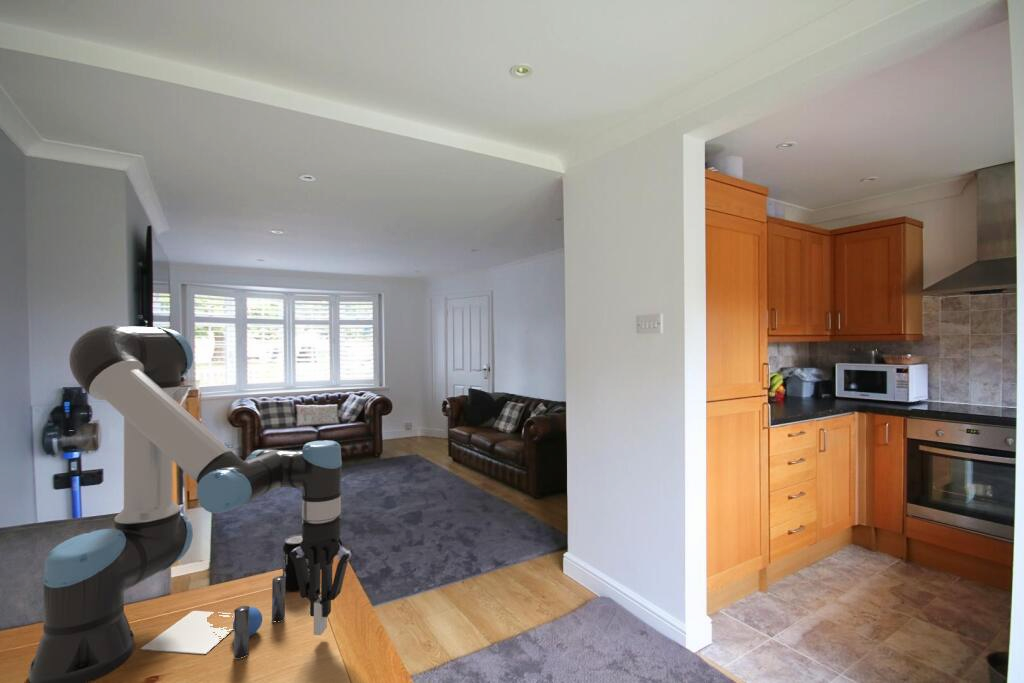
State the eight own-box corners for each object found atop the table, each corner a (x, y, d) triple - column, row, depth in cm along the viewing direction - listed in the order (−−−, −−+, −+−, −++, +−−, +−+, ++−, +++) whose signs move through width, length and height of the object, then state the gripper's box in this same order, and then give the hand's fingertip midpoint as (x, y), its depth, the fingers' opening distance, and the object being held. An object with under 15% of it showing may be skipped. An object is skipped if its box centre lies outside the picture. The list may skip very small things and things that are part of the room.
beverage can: (300, 593, 120) (300, 544, 120) (276, 590, 121) (277, 542, 121) (316, 581, 126) (316, 534, 126) (293, 578, 128) (294, 532, 128)
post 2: (269, 622, 108) (269, 581, 108) (276, 615, 110) (276, 575, 110) (280, 622, 107) (281, 581, 107) (287, 616, 110) (287, 576, 110)
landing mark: (140, 649, 98) (140, 648, 98) (193, 611, 112) (193, 610, 112) (205, 654, 96) (205, 653, 96) (250, 615, 110) (250, 614, 110)
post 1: (230, 658, 95) (231, 612, 95) (239, 650, 98) (240, 605, 98) (243, 659, 95) (243, 613, 95) (251, 651, 97) (252, 606, 97)
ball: (229, 644, 100) (224, 618, 100) (246, 629, 106) (241, 603, 106) (253, 641, 100) (248, 614, 100) (269, 625, 105) (265, 600, 105)
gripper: (359, 512, 104) (358, 623, 104) (301, 509, 106) (300, 619, 106) (343, 525, 97) (342, 644, 97) (281, 522, 98) (280, 639, 98)
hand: (320, 631), depth 101 cm, fingers closed
